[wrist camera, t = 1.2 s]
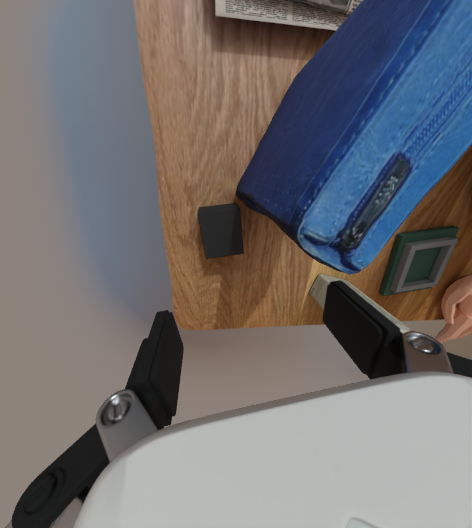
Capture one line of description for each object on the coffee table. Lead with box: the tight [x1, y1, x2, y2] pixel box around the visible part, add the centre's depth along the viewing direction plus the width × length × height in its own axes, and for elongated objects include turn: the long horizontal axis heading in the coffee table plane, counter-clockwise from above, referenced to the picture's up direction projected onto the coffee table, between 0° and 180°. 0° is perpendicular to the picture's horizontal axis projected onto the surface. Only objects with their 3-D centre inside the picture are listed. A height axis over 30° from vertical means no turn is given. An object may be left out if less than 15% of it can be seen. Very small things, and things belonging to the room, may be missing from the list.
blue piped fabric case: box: [236, 0, 472, 274], centre depth 15 cm, size 14×5×20 cm, turn 150°
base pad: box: [379, 226, 459, 296], centre depth 33 cm, size 12×10×2 cm
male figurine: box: [434, 275, 472, 343], centre depth 39 cm, size 11×5×25 cm
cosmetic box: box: [309, 274, 410, 334], centre depth 29 cm, size 6×4×12 cm
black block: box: [198, 203, 244, 259], centre depth 25 cm, size 6×5×4 cm
